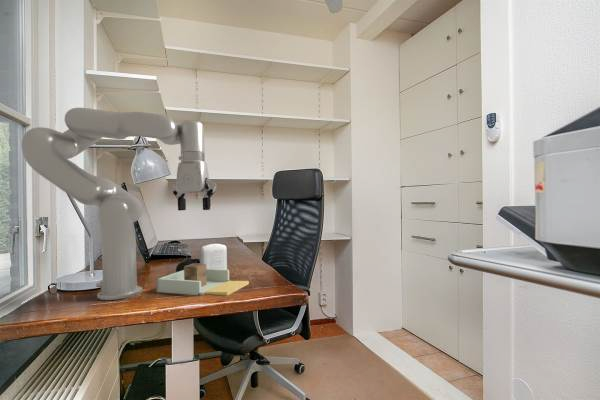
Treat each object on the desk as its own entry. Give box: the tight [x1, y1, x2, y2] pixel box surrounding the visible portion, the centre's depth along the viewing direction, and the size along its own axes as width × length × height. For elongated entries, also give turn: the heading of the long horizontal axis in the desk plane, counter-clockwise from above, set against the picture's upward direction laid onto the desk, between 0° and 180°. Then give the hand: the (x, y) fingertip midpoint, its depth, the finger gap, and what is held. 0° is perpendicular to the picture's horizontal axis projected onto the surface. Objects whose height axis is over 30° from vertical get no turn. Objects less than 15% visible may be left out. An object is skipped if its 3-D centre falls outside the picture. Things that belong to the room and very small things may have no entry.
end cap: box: [175, 257, 201, 273], centre depth 125 cm, size 10×7×7 cm
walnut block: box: [184, 263, 207, 287], centre depth 106 cm, size 5×5×7 cm
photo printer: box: [200, 243, 228, 270], centre depth 126 cm, size 10×4×12 cm, turn 125°
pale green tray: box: [155, 269, 232, 296], centre depth 106 cm, size 17×17×5 cm
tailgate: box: [203, 280, 250, 297], centre depth 103 cm, size 1×14×8 cm
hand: (194, 210), depth 106 cm, fingers open, 9 cm apart
